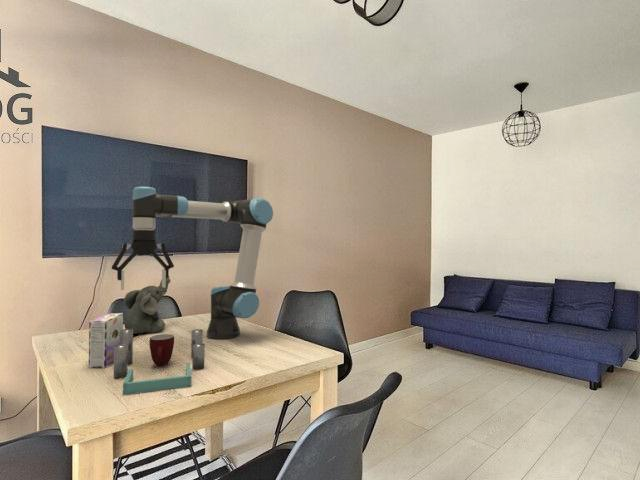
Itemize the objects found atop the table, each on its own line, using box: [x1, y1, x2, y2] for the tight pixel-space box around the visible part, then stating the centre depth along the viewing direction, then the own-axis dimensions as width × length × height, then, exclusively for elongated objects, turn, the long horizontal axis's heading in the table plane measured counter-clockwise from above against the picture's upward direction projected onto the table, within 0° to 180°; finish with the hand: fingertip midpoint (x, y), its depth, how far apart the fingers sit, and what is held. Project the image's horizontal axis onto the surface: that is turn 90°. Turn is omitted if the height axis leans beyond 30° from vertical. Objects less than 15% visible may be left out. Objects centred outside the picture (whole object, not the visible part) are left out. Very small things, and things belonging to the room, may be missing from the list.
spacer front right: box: [113, 344, 129, 380], centre depth 118 cm, size 4×4×10 cm
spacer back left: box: [190, 328, 204, 358], centre depth 139 cm, size 4×4×10 cm
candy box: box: [88, 312, 124, 369], centre depth 132 cm, size 14×6×16 cm, turn 5°
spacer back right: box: [120, 328, 134, 366], centre depth 130 cm, size 4×4×12 cm
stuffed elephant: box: [123, 276, 171, 335], centre depth 177 cm, size 19×21×27 cm
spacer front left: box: [191, 342, 206, 371], centre depth 126 cm, size 4×4×8 cm
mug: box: [149, 333, 175, 368], centre depth 128 cm, size 11×8×10 cm
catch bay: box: [122, 362, 192, 396], centre depth 113 cm, size 18×13×3 cm
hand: (143, 288), depth 131 cm, fingers open, 13 cm apart
